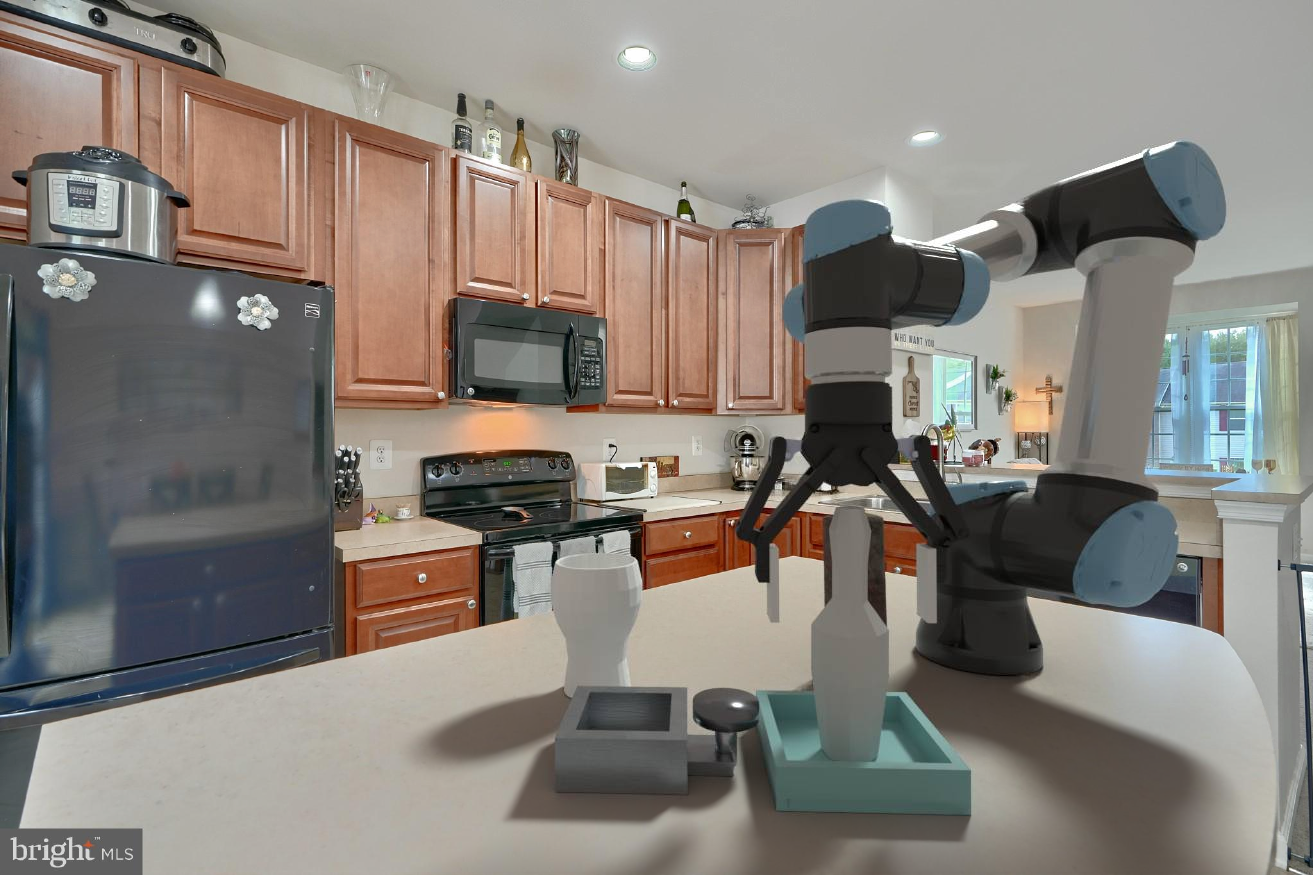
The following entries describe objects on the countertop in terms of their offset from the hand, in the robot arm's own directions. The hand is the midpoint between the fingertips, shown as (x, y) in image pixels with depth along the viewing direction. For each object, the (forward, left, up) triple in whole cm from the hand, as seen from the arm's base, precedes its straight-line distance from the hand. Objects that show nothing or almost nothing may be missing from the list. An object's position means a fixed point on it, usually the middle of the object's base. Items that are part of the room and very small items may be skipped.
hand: (849, 618), depth 58 cm
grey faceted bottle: (0, 0, -12) cm, 12 cm away
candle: (-6, -21, -13) cm, 25 cm away
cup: (+25, -16, -13) cm, 33 cm away
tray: (0, 0, -13) cm, 13 cm away
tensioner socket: (+17, 0, -13) cm, 21 cm away
